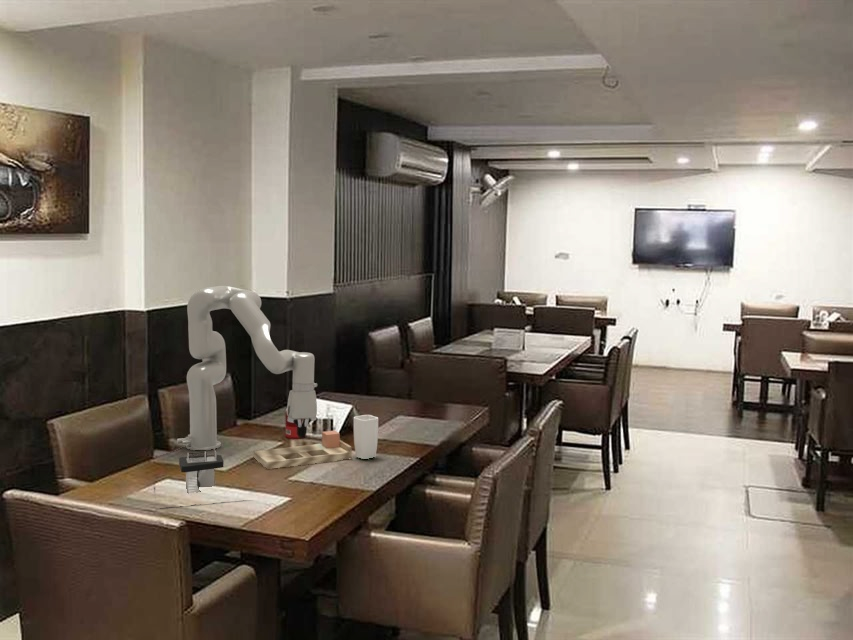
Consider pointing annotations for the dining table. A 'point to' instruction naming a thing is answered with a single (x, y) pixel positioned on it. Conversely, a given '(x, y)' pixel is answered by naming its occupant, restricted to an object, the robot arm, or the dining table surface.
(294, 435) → the canned food
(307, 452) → the board
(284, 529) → the dining table surface
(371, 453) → the cup
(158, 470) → the dining table surface
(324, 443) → the block
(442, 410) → the dining table surface
